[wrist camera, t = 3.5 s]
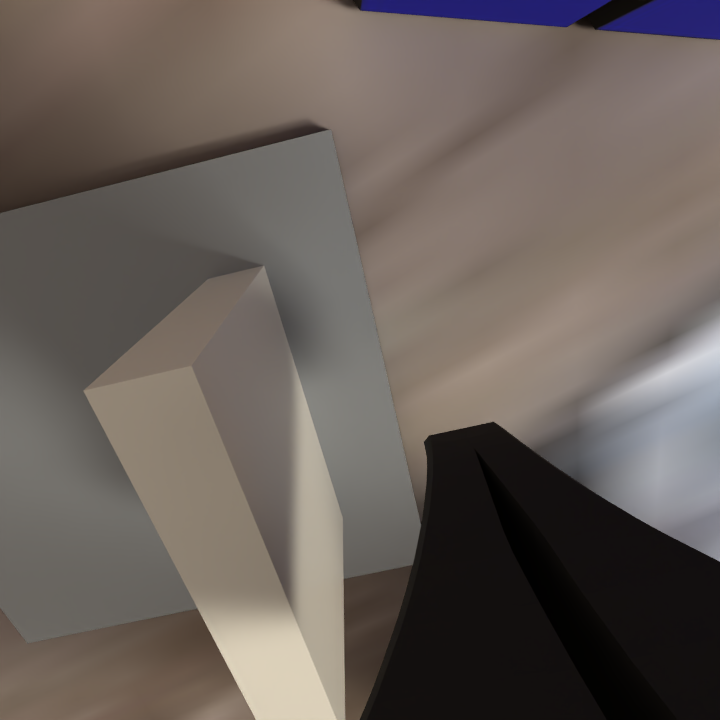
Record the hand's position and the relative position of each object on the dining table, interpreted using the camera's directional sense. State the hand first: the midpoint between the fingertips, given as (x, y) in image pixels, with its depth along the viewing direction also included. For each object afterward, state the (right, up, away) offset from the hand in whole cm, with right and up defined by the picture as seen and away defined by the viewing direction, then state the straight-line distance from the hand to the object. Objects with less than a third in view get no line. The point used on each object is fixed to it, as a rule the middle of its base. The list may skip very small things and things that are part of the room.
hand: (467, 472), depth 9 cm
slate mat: (-8, 0, +5) cm, 9 cm away
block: (-4, +1, +4) cm, 6 cm away
